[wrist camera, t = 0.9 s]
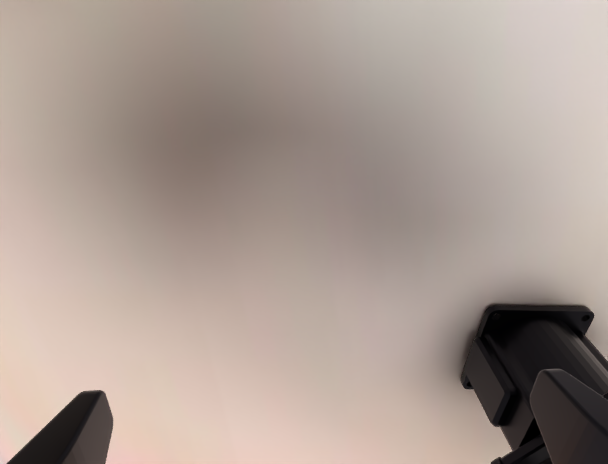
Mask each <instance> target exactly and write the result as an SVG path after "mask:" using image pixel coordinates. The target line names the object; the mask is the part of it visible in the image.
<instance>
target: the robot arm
mask: <svg viewBox="0 0 608 464" xmlns="http://www.w3.org/2000/svg"><path fill="white" fill-rule="evenodd" d="M494 314H496V315H494ZM593 318H594V313H593V312H592V311H591V310H590V309H589V308H587V307H556V306H491V307H489V308H488V309H487V310H486V311H485V314H484V316H483V319H482V322H481V325H480V327H479V330H478V333H477V336H476V338H475V340H474V341H473V344H472V347H471V350H470V352H469V355H468V358H467V361H466V363H465V366H464V371H463V374H462V377H461V383H462V385H463V387H464V388H465V389H474V391H475V393H476V395H477V397H478V399H479V401H480V402H481V404H482V406H483V408H484V410H485V412H486V414H487V416H488V418H489V420H490V422H491V423H492V424H493V425H494V426H495V427H500V428H501V430H502V431H503V433H504V435H505V437H506V439H507V441H508V443H509V445H510V447H511V449H512V452H510V453H509V454H507V455H505V456H504V457H502V458H501V457H498V458H497V459H495V460H494V461H492V462H491V464H608V361H607V360H606V359H605V358H604V357H603V355H602V354H601V353H600V352H599V351H598V350H597V349H596V348H595V346H594V345H593V344H592V343H591V342H590V341H589V340H588V339H587V337H586V336H585V334H586V332H587V330H588V328H589V326H590V324H591V322H592V320H593ZM112 429H113V417H112V413H111V410H110V407H109V403H108V400H107V397H106V394H105V393H104V392H103V391H101V390H95V391H83V392H81V393H79V394H78V395H77V396H76V397H75V398H74V399H73V400H72V401H71V402H70V403H69V404H68V405H67V406H66V407H65V408H64V409H63V410H62V411H60V412H59V413H58V414H57V415H56V416H55V417H54V418H53V419H52V420H51V421H50V422H49V423H48V424H47V425H46V426H45V427H44V428H43V429H42V430H41V431H40V432H39V433H38V434H37V435H36V436H35V437H34V438H33V439H32V440H30V441H29V442H28V443H27V444H26V445H25V446H24V447H23V448H22V449H21V450H20V451H19V452H18V453H17V454H16V455H15V456H14V457H13V458H12V459H11V460H10V461H9V462H8V463H7V464H105V463H106V458H107V453H108V448H109V443H110V439H111V434H112Z"/></svg>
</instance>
